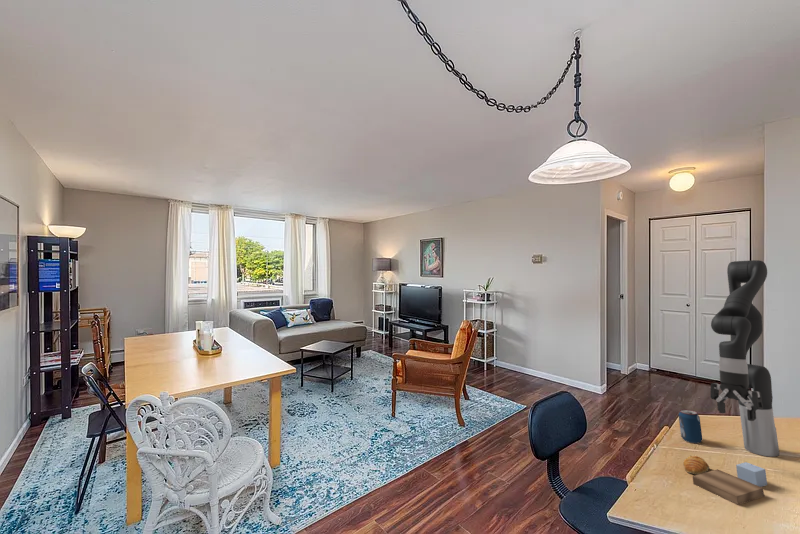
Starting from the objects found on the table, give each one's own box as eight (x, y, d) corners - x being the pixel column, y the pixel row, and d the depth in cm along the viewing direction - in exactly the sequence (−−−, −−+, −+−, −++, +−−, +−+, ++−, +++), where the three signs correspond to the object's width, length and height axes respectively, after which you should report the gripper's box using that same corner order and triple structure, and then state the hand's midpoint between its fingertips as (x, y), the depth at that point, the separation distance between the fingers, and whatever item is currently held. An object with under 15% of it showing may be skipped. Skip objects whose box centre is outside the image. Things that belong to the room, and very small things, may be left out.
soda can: (706, 441, 140) (702, 412, 141) (696, 445, 138) (693, 415, 139) (687, 435, 147) (683, 407, 148) (677, 439, 144) (674, 410, 145)
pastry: (705, 479, 115) (703, 467, 115) (680, 472, 120) (678, 461, 120) (710, 469, 121) (708, 458, 121) (686, 462, 126) (684, 452, 126)
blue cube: (748, 477, 114) (746, 462, 115) (767, 485, 109) (765, 469, 110) (738, 480, 113) (736, 464, 113) (757, 488, 108) (755, 472, 109)
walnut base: (718, 478, 115) (717, 469, 116) (764, 498, 104) (763, 487, 104) (693, 485, 112) (692, 476, 112) (738, 506, 100) (736, 496, 101)
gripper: (765, 374, 117) (769, 423, 115) (718, 367, 131) (720, 410, 129) (750, 374, 115) (753, 424, 113) (704, 367, 129) (706, 410, 127)
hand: (736, 416), depth 121 cm, fingers open, 8 cm apart
